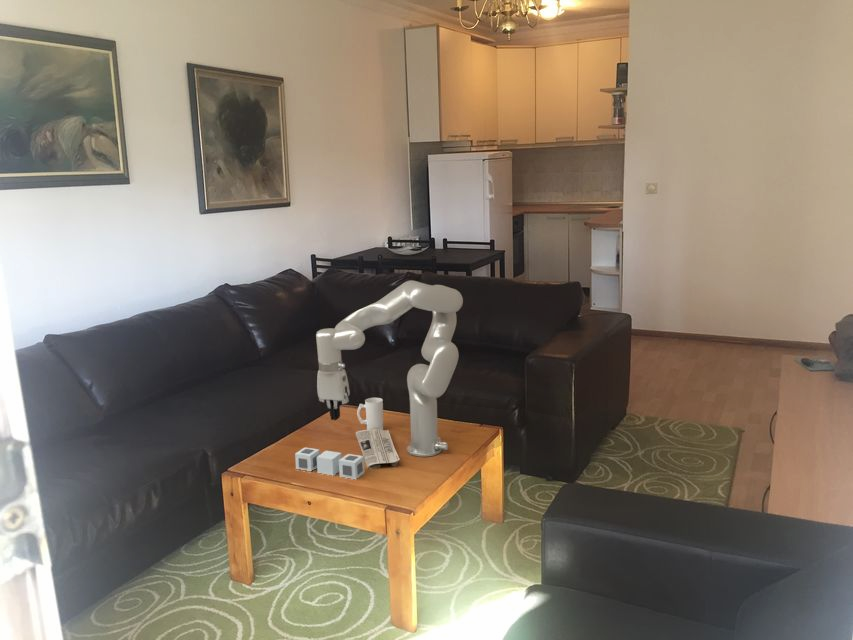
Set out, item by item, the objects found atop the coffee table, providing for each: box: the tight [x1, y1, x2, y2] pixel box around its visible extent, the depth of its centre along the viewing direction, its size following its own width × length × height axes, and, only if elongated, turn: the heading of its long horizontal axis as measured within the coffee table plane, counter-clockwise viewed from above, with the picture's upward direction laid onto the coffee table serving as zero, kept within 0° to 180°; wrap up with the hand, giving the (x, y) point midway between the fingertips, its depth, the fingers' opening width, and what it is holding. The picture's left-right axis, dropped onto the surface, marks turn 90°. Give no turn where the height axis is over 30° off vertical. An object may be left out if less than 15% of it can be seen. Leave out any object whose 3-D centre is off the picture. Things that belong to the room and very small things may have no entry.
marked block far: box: [294, 446, 321, 471], centre depth 250 cm, size 6×6×6 cm
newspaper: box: [355, 429, 400, 470], centre depth 264 cm, size 35×12×4 cm, turn 12°
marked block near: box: [338, 453, 365, 481], centre depth 243 cm, size 6×6×6 cm
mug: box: [356, 397, 384, 430], centre depth 284 cm, size 10×7×12 cm, turn 98°
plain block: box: [316, 450, 343, 477], centre depth 246 cm, size 6×6×6 cm
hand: (335, 418), depth 246 cm, fingers closed
